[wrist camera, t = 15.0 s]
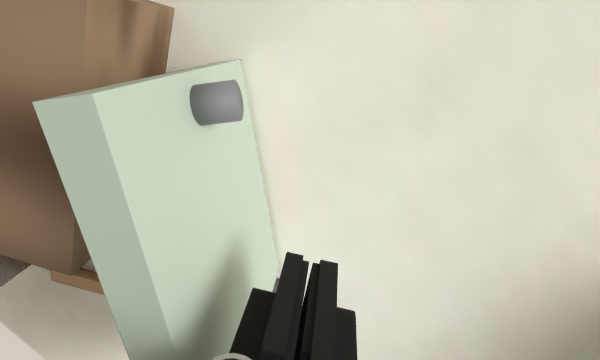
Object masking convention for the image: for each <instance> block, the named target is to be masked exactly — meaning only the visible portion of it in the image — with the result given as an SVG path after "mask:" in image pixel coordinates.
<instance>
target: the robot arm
mask: <svg viewBox="0 0 600 360" xmlns="http://www.w3.org/2000/svg"><path fill="white" fill-rule="evenodd" d="M308 265H309V262H308V261H304V260H303V255H298V254H294V253H290V252H287V253H286V257H285V261H284V265H283V268H282V272H281V276H280V280H279V283H278V287H277V291H276V293H275V292H270V291H266V290H262V289H258V288H254V287H253V289H252V291H251V294H250V296H249V299H248V302H247V305H246V307H245V310H244V313H243V316H242V318H241V321H240V324H239V327H238V329H237V332H236V335H235V338H234V340H233V343H232V346H231V349H230V351H229V353H226V354H222V355H219V356H216V357H215V358H213V359H211V360H357V342H356V316H355V312H354V311H351V310H347V309H343V308H339V307H337V276H338V264H337V263H333V262H329V261H324V260H320V263H319V264H317V263H313V265H312V269H311V273H310V277H309V281H308V285H307V289H306V293H305V297H304V291H305V285H306V278H307V272H308ZM303 297H304V301H303ZM302 304H303V305H302Z"/></svg>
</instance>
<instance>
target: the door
mask: <svg viewBox="0 0 600 360" xmlns="http://www.w3.org/2000/svg"><path fill="white" fill-rule="evenodd" d="M32 103H33V106H34V108H35V111H36V114H37V116H38V119H39V122H40V124H41V127H42V130H43V132H44V135H45V137H46V140H47V143H48V145H49V148H50V151H51V153H52V156H53V159H54V161H55V164H56V166H57V169H58V172H59V174H60V177H61V180H62V182H63V185H64V188H65V190H66V193H67V196H68V198H69V201H70V203H71V206H72V209H73V211H74V214H75V217H76V219H77V222H78V225H79V227H80V230H81V233H82V235H83V238H84V240H85V243H86V246H87V248H88V251H89V254H90V256H91V259H92V262H93V264H94V267H95V270H96V272H97V275H98V277H99V280H100V283H101V285H102V288H103V291H104V293H105V296H106V299H107V301H108V304H109V306H110V309H111V312H112V314H113V317H114V320H115V322H116V325H117V328H118V330H119V333H120V336H121V338H122V341H123V343H124V346H125V349H126V351H127V354H128V357H129V359H130V360H211V359H213V358H215V357H216V356H219V355H222V354H226V353H229V351H230V349H231V346H232V343H233V340H234V338H235V335H236V332H237V329H238V327H239V324H240V321H241V318H242V316H243V313H244V310H245V307H246V305H247V302H248V299H249V296H250V294H251V291H252V289H253V287H254V288H258V289H262V290H266V291H270V292H272V291H273V288H274V284H275V281H276V277H277V273H278V270H279V265H278V259H277V254H276V248H275V243H274V238H273V232H272V227H271V221H270V216H269V210H268V205H267V200H266V194H265V189H264V183H263V178H262V172H261V167H260V162H259V156H258V151H257V145H256V140H255V134H254V129H253V123H252V118H251V113H250V107H249V102H248V96H247V91H246V85H245V80H244V75H243V69H242V64H241V59H240V60H233V61H226V62H219V63H213V64H208V65H203V66H199V67H194V68H189V69H185V70H180V71H175V72H170V73H166V74H161V75H156V76H152V77H147V78H142V79H138V80H133V81H128V82H124V83H119V84H114V85H110V86H105V87H100V88H96V89H91V90H86V91H81V92H77V93H72V94H67V95H63V96H58V97H53V98H49V99H44V100H39V101H35V102H32Z"/></svg>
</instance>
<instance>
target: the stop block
mask: <svg viewBox="0 0 600 360" xmlns="http://www.w3.org/2000/svg"><path fill="white" fill-rule="evenodd" d="M173 15H174V8H172V7H168V6H165V5H162V4H159V3H155V2H152V1H149V0H0V255H4V256H7V257H10V258H13V259H17V260H20V261H23V262H27V263H30V264H33V265H36V266H40V267H43V268H46V269H49V270H53V271H56V272H59V273H62V274H66V275H69V276H72V275H73V274H74V273H75V272H76V271H77V270H78V269H80V268H81V267H82V266H83V265H84V264H85V263H86V262H88V261H89V260H90V259H91V256H90V254H89V251H88V248H87V246H86V243H85V240H84V238H83V235H82V233H81V230H80V227H79V225H78V222H77V219H76V217H75V214H74V211H73V209H72V206H71V203H70V201H69V198H68V196H67V193H66V190H65V188H64V185H63V182H62V180H61V177H60V174H59V172H58V169H57V166H56V164H55V161H54V159H53V156H52V153H51V151H50V148H49V145H48V143H47V140H46V137H45V135H44V132H43V130H42V127H41V124H40V122H39V119H38V116H37V114H36V111H35V108H34V106H33V103H32V102H35V101H39V100H44V99H49V98H53V97H58V96H63V95H67V94H72V93H77V92H81V91H86V90H91V89H96V88H100V87H105V86H110V85H114V84H119V83H124V82H128V81H133V80H138V79H142V78H147V77H152V76H156V75H161V74H165V72H166V65H167V58H168V50H169V43H170V36H171V29H172V22H173Z"/></svg>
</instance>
